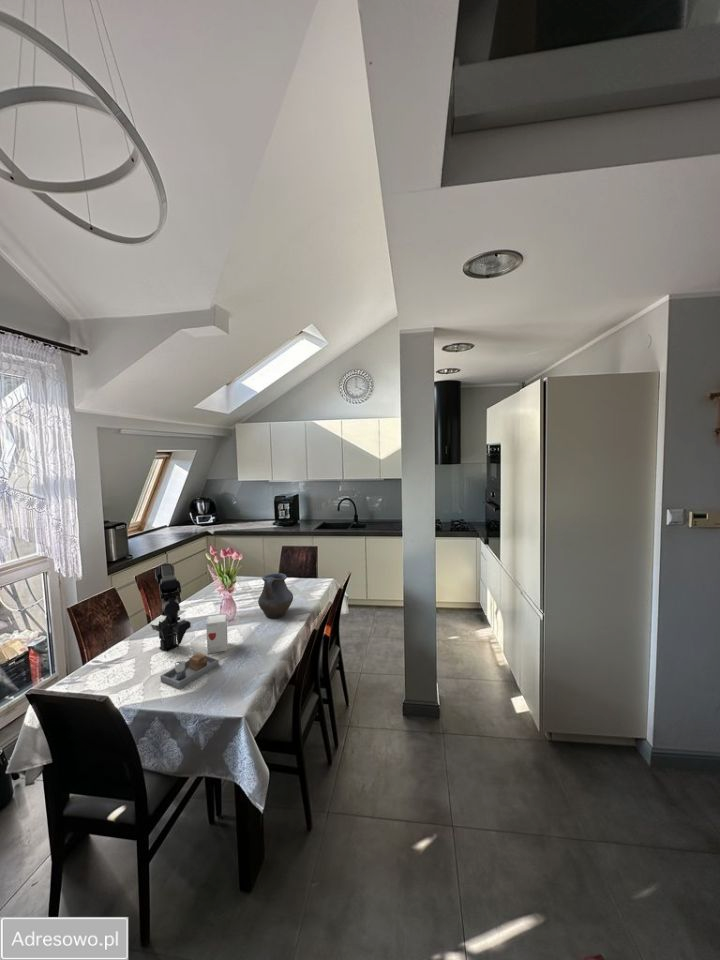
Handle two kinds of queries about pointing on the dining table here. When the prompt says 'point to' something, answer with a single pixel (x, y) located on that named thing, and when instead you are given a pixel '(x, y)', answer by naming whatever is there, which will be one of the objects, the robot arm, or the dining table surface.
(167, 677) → the tray
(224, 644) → the supplement box
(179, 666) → the steel peg
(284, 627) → the dining table surface
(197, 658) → the walnut block
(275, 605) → the pitcher
